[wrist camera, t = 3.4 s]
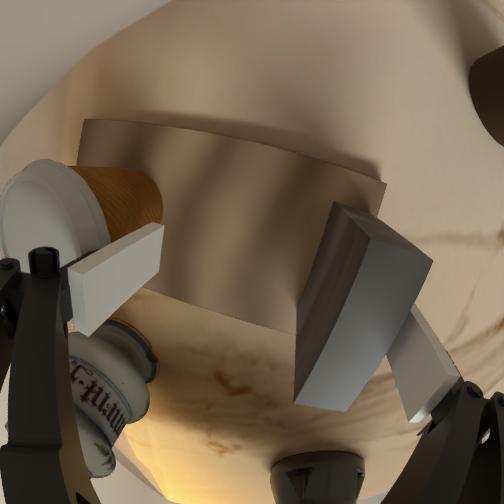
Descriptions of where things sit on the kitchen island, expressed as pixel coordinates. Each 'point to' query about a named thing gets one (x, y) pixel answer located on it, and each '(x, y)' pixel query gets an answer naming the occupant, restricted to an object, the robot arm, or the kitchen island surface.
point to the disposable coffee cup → (73, 209)
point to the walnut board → (274, 246)
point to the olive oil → (489, 92)
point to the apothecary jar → (108, 388)
